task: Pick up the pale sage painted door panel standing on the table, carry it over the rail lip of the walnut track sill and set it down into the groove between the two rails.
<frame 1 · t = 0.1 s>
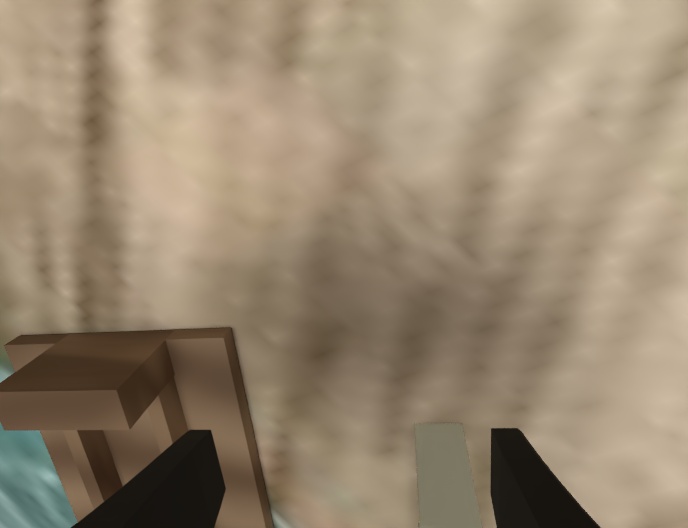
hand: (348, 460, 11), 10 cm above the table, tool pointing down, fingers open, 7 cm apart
track sill: (158, 453, 25), on the table
door panel: (440, 482, 24), on the table
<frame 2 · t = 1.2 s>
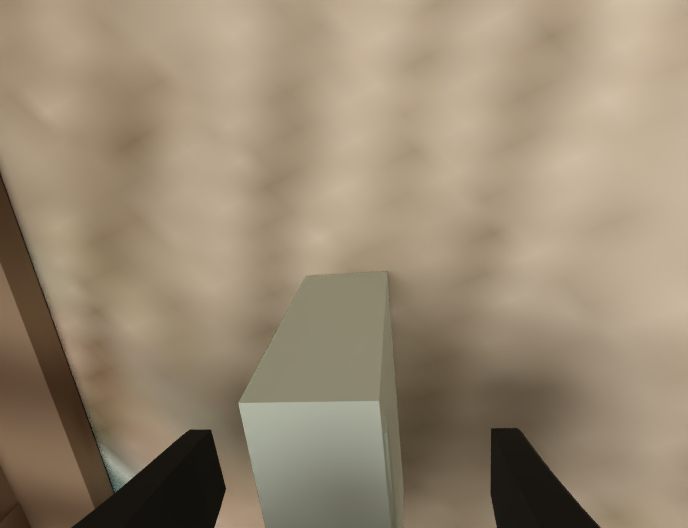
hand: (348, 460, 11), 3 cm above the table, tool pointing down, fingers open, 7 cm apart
door panel: (358, 387, 14), on the table
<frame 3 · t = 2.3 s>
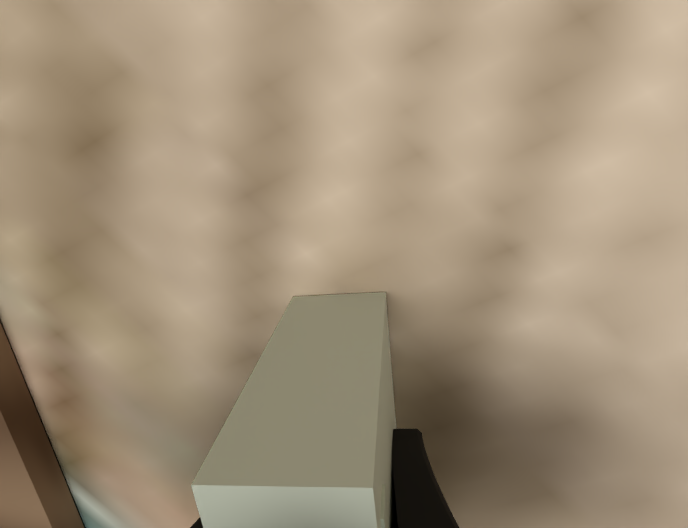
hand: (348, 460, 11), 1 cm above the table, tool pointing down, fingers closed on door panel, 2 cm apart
door panel: (353, 422, 13), on the table, touching gripper
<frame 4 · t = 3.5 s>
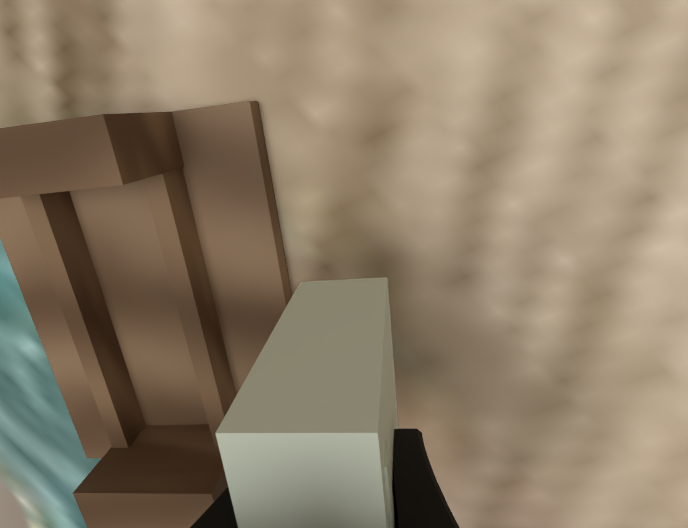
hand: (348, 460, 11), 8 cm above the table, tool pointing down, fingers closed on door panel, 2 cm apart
track sill: (164, 302, 20), on the table
door panel: (356, 402, 13), point 6 cm above the table, touching gripper
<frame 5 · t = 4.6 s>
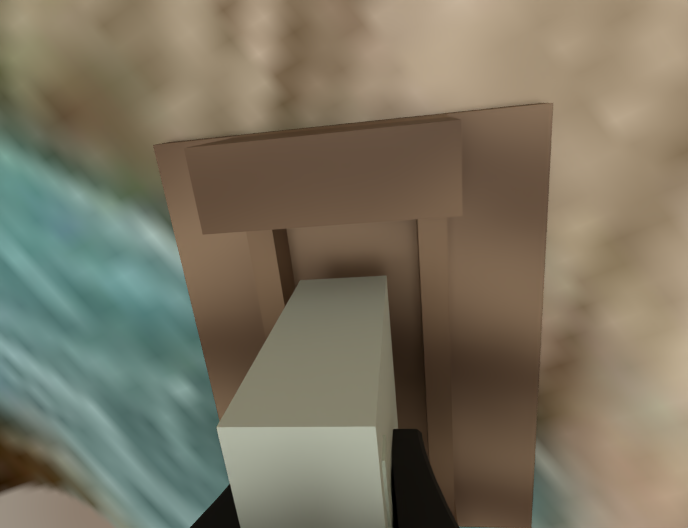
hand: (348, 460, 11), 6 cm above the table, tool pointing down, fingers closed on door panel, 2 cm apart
track sill: (365, 344, 17), on the table
door panel: (356, 400, 13), point 3 cm above the table, touching gripper
when the fingers open (4 cm above the table, at t = 5.2 s): door panel stays where it is, resting on track sill.
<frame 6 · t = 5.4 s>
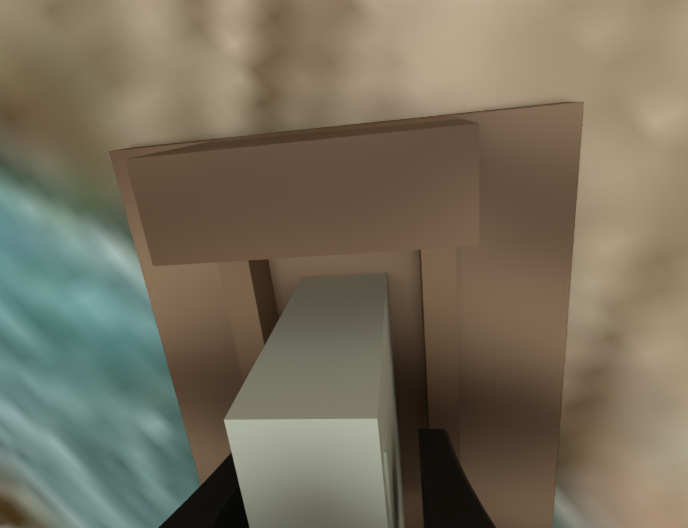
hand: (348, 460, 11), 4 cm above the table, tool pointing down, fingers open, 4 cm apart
track sill: (360, 377, 15), on the table
door panel: (357, 394, 14), point 1 cm above the table, touching track sill
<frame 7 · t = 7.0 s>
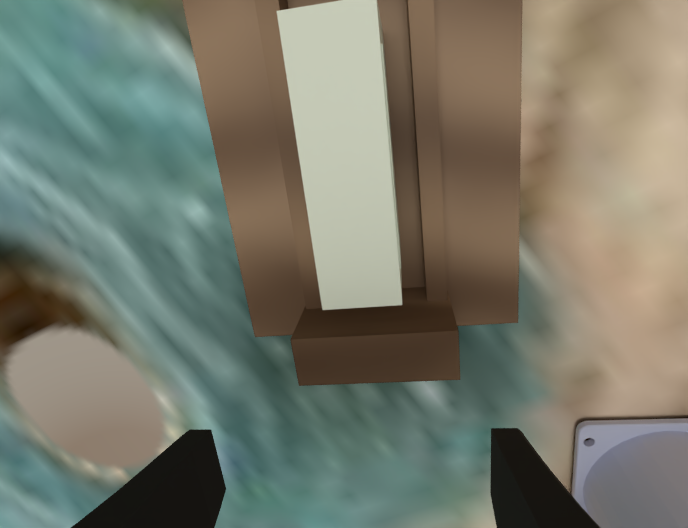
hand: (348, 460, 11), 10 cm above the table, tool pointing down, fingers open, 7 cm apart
track sill: (363, 148, 18), on the table
door panel: (361, 149, 17), point 1 cm above the table, touching track sill
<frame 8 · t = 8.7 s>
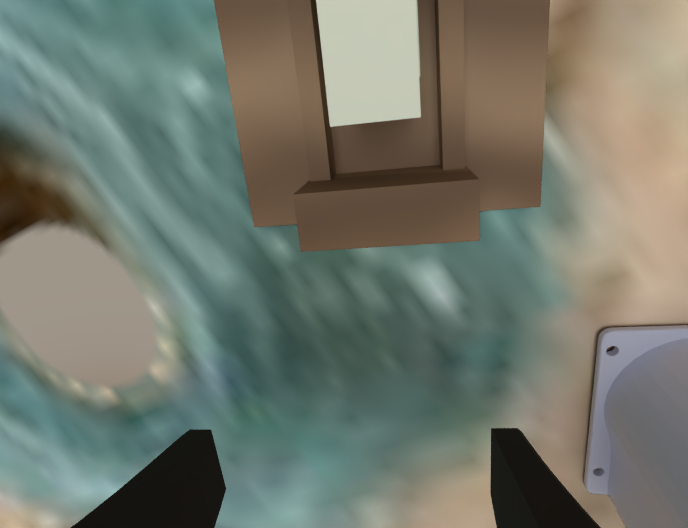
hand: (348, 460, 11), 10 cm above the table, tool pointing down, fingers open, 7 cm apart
track sill: (376, 7, 17), on the table
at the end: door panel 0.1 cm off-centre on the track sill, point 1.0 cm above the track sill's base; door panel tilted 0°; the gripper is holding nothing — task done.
